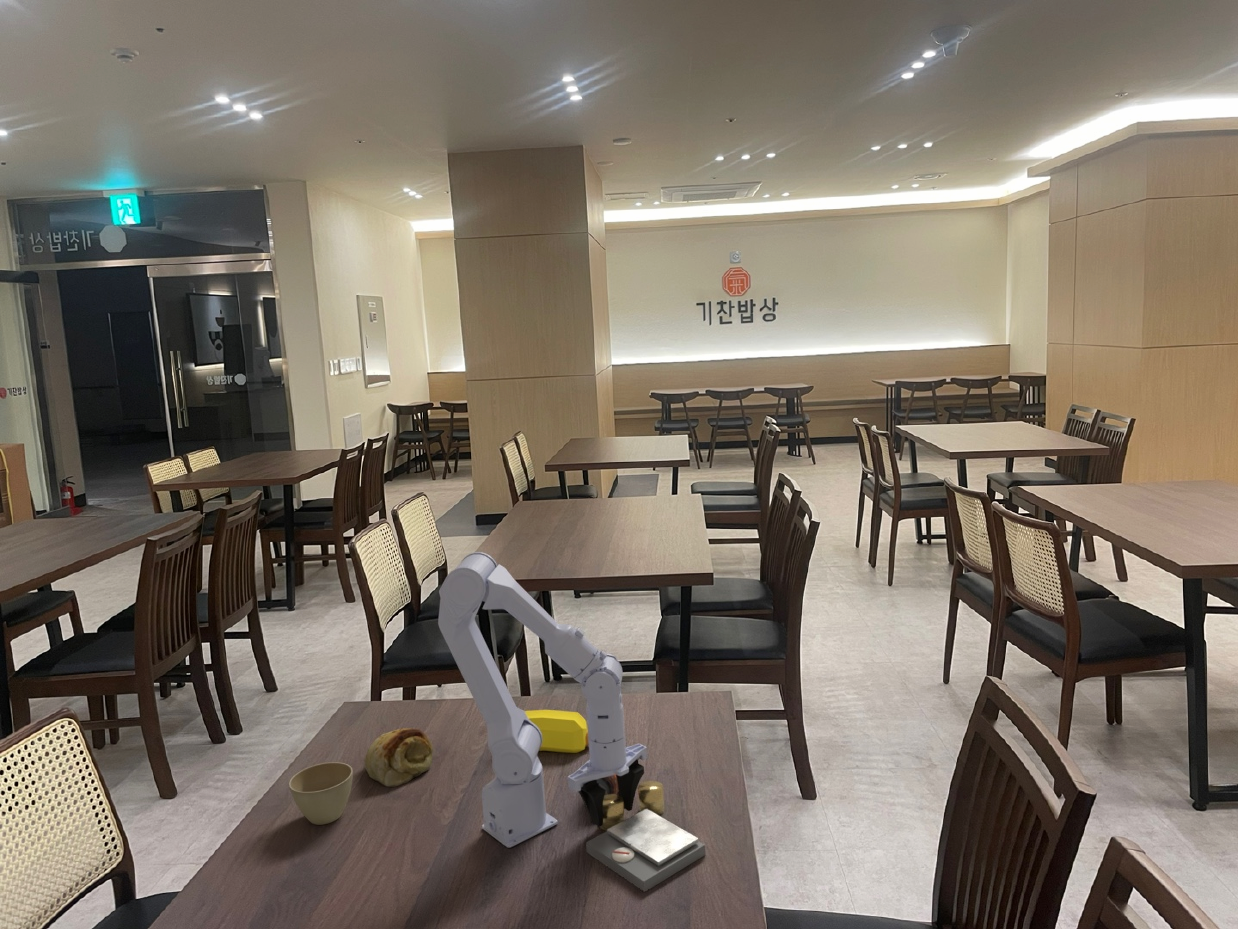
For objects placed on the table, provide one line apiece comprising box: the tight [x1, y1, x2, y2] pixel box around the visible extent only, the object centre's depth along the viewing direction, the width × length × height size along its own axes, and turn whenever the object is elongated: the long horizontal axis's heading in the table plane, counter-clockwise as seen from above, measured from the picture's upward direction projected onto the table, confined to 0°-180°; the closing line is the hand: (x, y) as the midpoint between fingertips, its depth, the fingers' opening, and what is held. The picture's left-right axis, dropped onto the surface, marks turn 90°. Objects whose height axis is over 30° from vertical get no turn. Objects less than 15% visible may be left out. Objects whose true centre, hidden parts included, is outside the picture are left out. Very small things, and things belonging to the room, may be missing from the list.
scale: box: [585, 831, 706, 893], centre depth 129 cm, size 12×13×2 cm
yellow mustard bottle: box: [524, 709, 589, 754], centre depth 164 cm, size 18×7×8 cm
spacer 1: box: [599, 794, 626, 832], centre depth 137 cm, size 4×4×4 cm
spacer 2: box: [637, 780, 665, 816], centre depth 140 cm, size 4×4×4 cm
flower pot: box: [288, 761, 354, 826], centre depth 144 cm, size 10×10×7 cm
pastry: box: [363, 727, 434, 788], centre depth 159 cm, size 14×12×8 cm
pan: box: [606, 809, 700, 866], centre depth 130 cm, size 8×11×1 cm
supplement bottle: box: [597, 775, 619, 796], centre depth 146 cm, size 6×6×11 cm
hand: (611, 815), depth 137 cm, fingers open, 5 cm apart
